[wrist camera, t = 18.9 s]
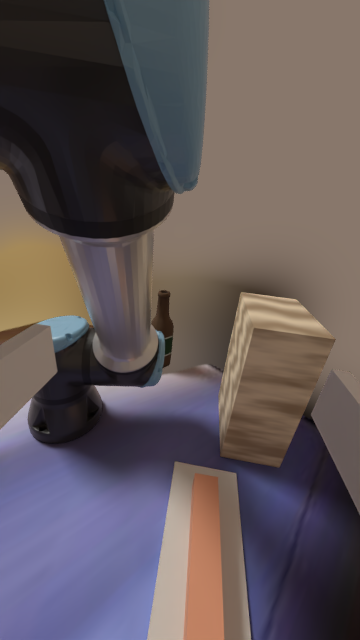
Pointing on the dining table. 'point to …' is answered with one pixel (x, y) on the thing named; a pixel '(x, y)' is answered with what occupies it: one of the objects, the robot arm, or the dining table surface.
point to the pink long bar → (204, 564)
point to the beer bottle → (164, 323)
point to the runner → (174, 558)
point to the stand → (268, 377)
